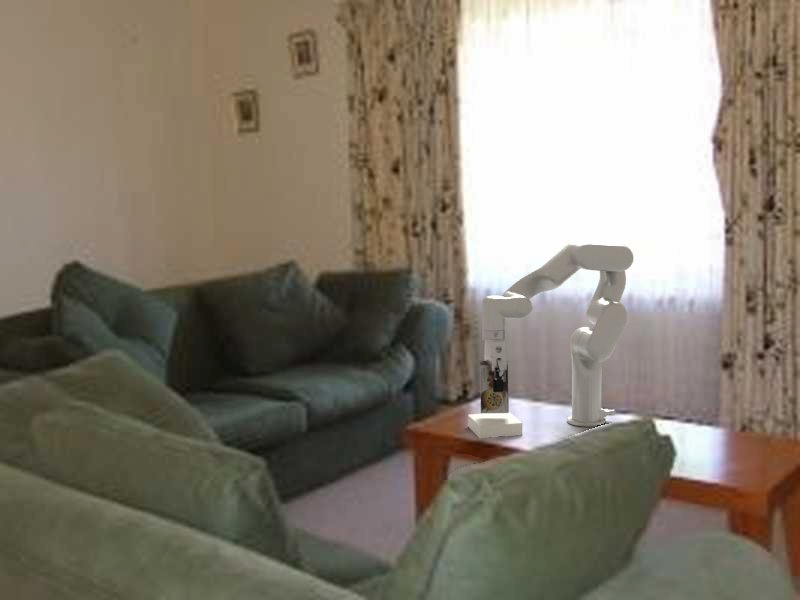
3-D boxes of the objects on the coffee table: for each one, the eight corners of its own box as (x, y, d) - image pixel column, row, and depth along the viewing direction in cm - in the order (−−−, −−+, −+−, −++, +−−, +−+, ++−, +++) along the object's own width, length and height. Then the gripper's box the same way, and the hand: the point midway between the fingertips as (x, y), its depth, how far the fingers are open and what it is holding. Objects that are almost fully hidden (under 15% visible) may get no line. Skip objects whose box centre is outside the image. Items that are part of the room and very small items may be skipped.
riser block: (509, 423, 319) (509, 411, 318) (522, 435, 305) (522, 422, 305) (468, 426, 316) (468, 414, 316) (479, 438, 303) (479, 426, 302)
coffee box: (508, 408, 313) (508, 359, 310) (508, 413, 306) (508, 364, 304) (480, 408, 314) (480, 359, 311) (480, 413, 307) (479, 364, 305)
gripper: (513, 338, 298) (513, 394, 301) (497, 329, 315) (498, 382, 318) (490, 340, 297) (490, 396, 300) (475, 330, 314) (476, 383, 317)
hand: (494, 388), depth 309 cm, fingers closed on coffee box, 7 cm apart
